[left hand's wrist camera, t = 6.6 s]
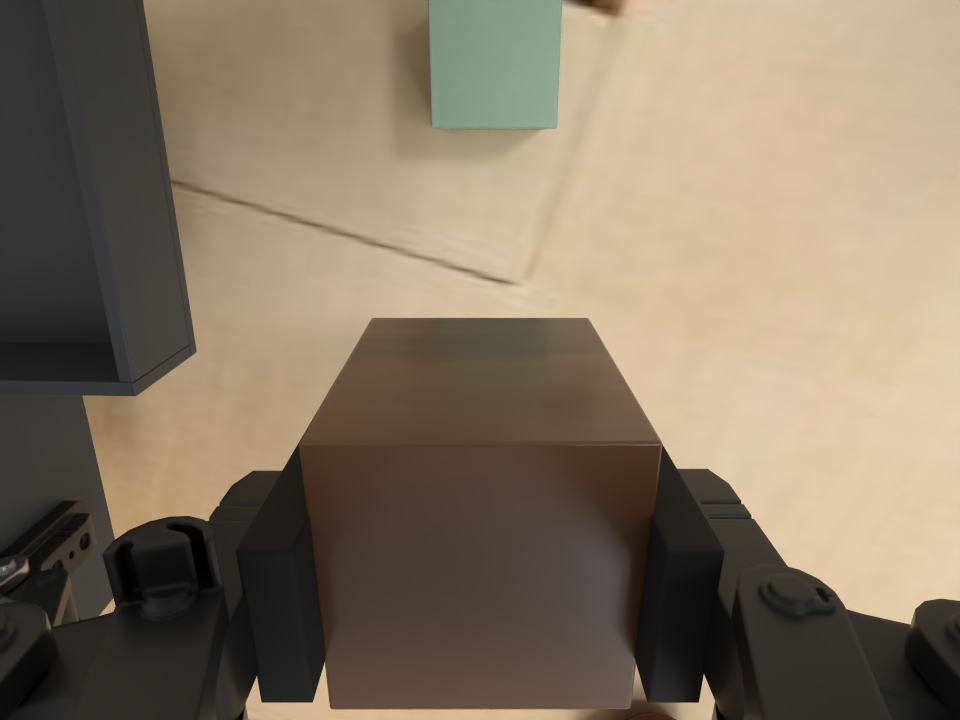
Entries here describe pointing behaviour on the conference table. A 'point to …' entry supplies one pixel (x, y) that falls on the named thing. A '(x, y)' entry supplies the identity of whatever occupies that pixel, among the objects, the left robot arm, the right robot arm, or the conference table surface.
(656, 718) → the dark red ball
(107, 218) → the tote
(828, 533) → the conference table surface
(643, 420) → the walnut block
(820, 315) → the conference table surface
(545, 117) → the sage block
